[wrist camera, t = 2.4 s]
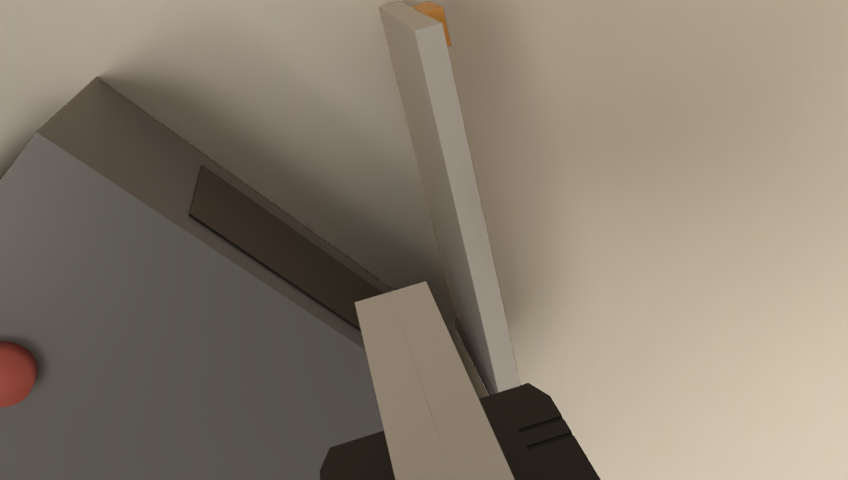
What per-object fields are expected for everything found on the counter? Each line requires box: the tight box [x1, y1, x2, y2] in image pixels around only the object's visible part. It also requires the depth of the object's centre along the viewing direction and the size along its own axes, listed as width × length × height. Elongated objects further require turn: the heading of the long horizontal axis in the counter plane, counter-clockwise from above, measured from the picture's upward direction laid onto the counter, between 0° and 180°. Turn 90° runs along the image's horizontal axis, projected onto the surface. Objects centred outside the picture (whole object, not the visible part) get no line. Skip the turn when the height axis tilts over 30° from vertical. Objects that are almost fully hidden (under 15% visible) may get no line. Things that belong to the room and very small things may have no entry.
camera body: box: [0, 77, 488, 480], centre depth 27 cm, size 19×10×9 cm, turn 48°
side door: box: [379, 1, 520, 395], centre depth 27 cm, size 14×2×7 cm, turn 13°
